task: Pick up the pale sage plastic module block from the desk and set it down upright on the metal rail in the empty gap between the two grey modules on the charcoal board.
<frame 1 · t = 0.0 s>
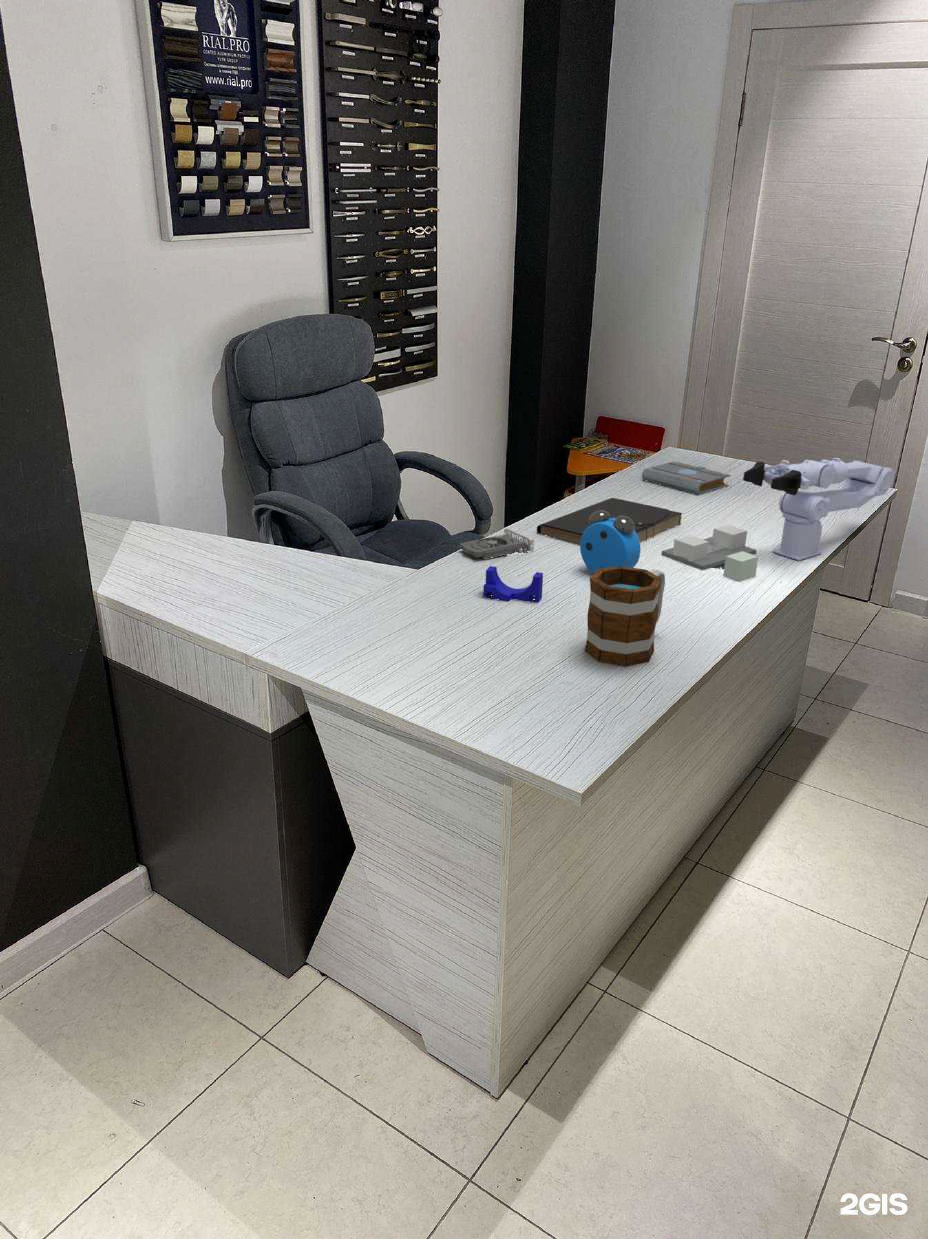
hand: (758, 480, 217), 22 cm above the table, tool horizontal, fingers open, 7 cm apart
mounted modules: (709, 554, 235), resting on rail board
blue cradle bracket: (512, 599, 208), on the table
module block: (739, 576, 222), on the table
mug: (628, 647, 186), on the table
alarm clock: (607, 576, 221), on the table
book: (684, 485, 295), on the table
rail board: (709, 554, 235), on the table
graphics card: (492, 552, 236), on the table
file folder: (610, 531, 253), on the table
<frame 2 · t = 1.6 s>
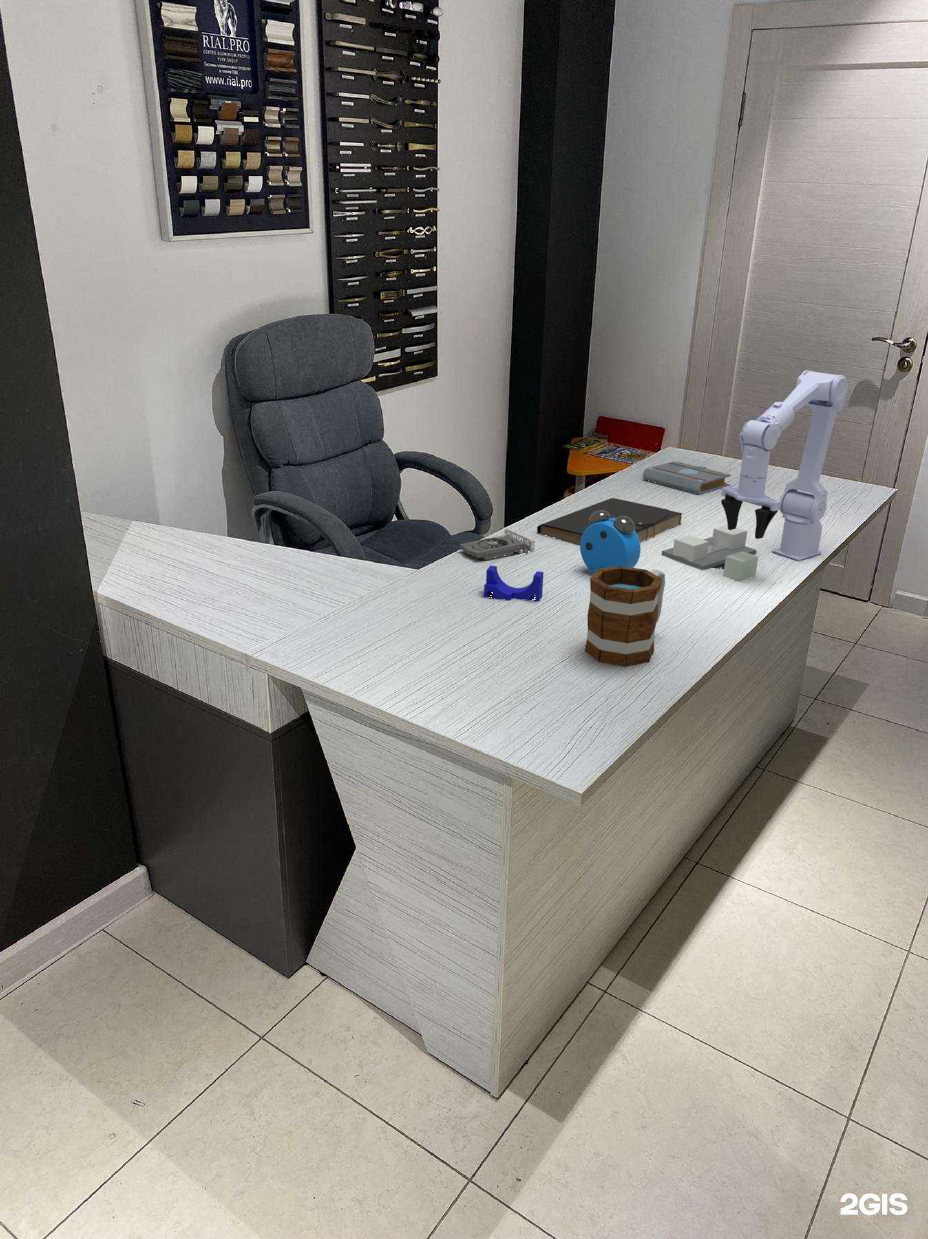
hand: (745, 533, 218), 10 cm above the table, tool pointing down, fingers open, 7 cm apart
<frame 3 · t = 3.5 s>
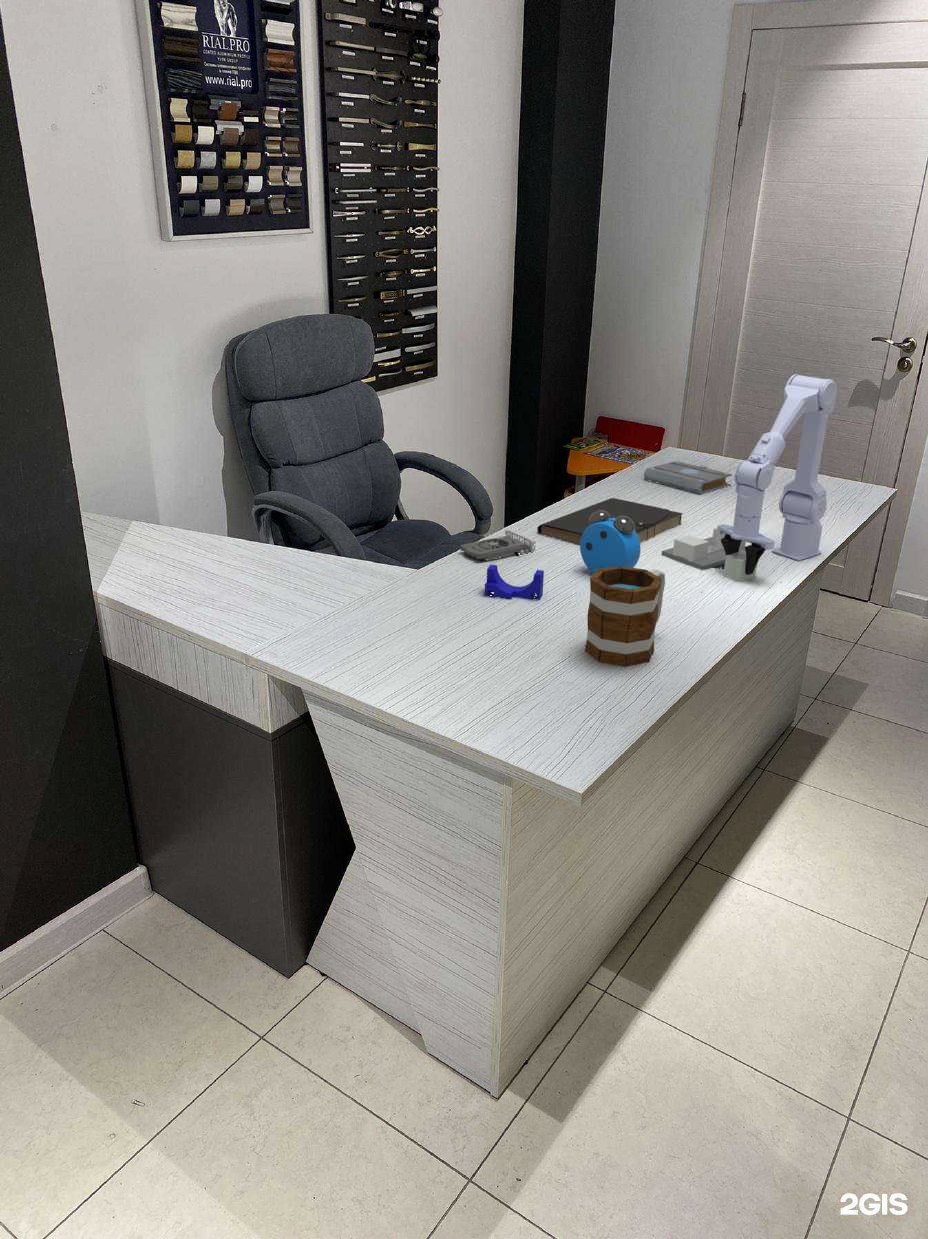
hand: (740, 570, 221), 1 cm above the table, tool pointing down, fingers closed on module block, 4 cm apart
module block: (739, 576, 222), on the table, touching gripper
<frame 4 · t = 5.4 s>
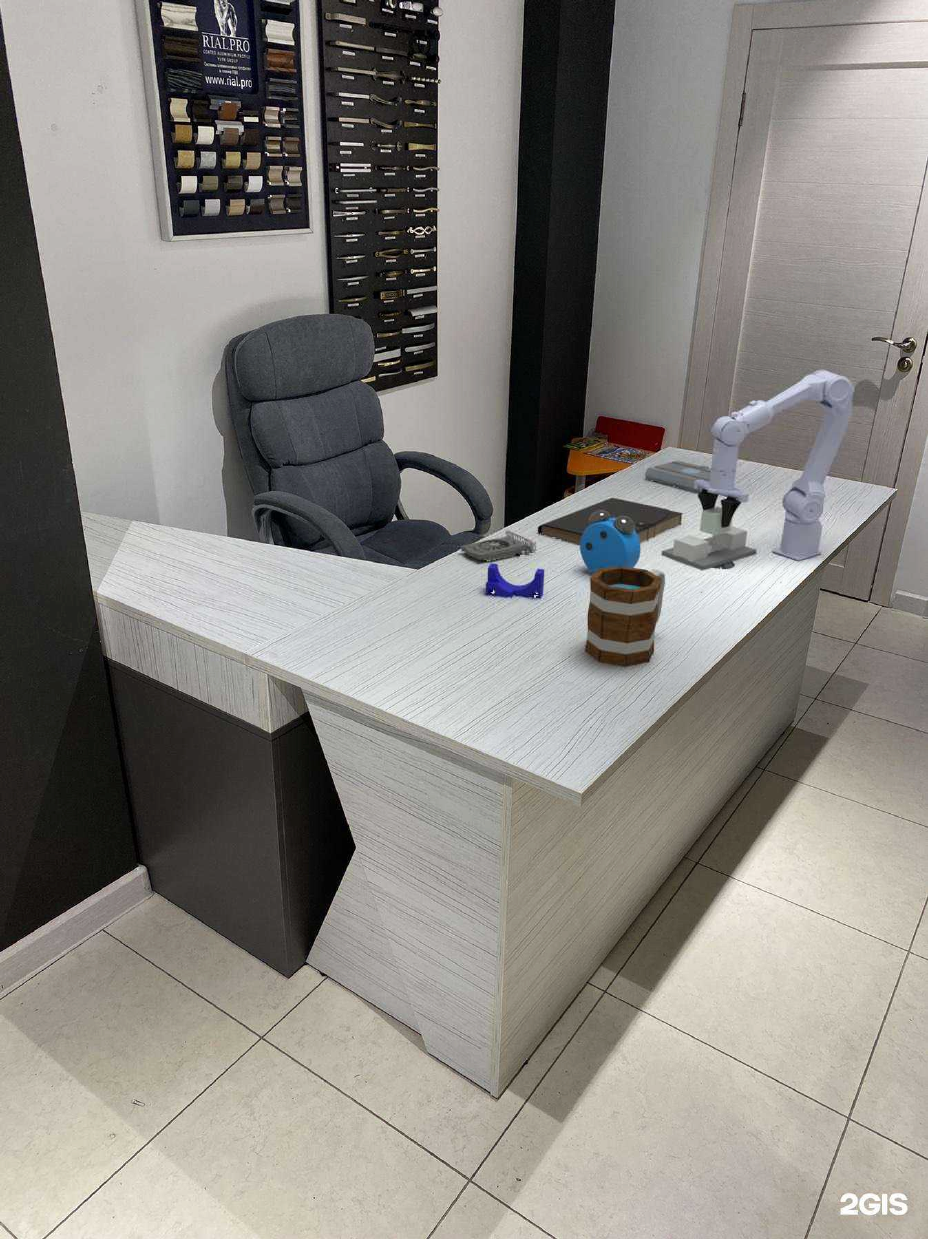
hand: (716, 524, 230), 8 cm above the table, tool pointing down, fingers closed on module block, 4 cm apart
module block: (715, 530, 231), point 7 cm above the table, touching gripper
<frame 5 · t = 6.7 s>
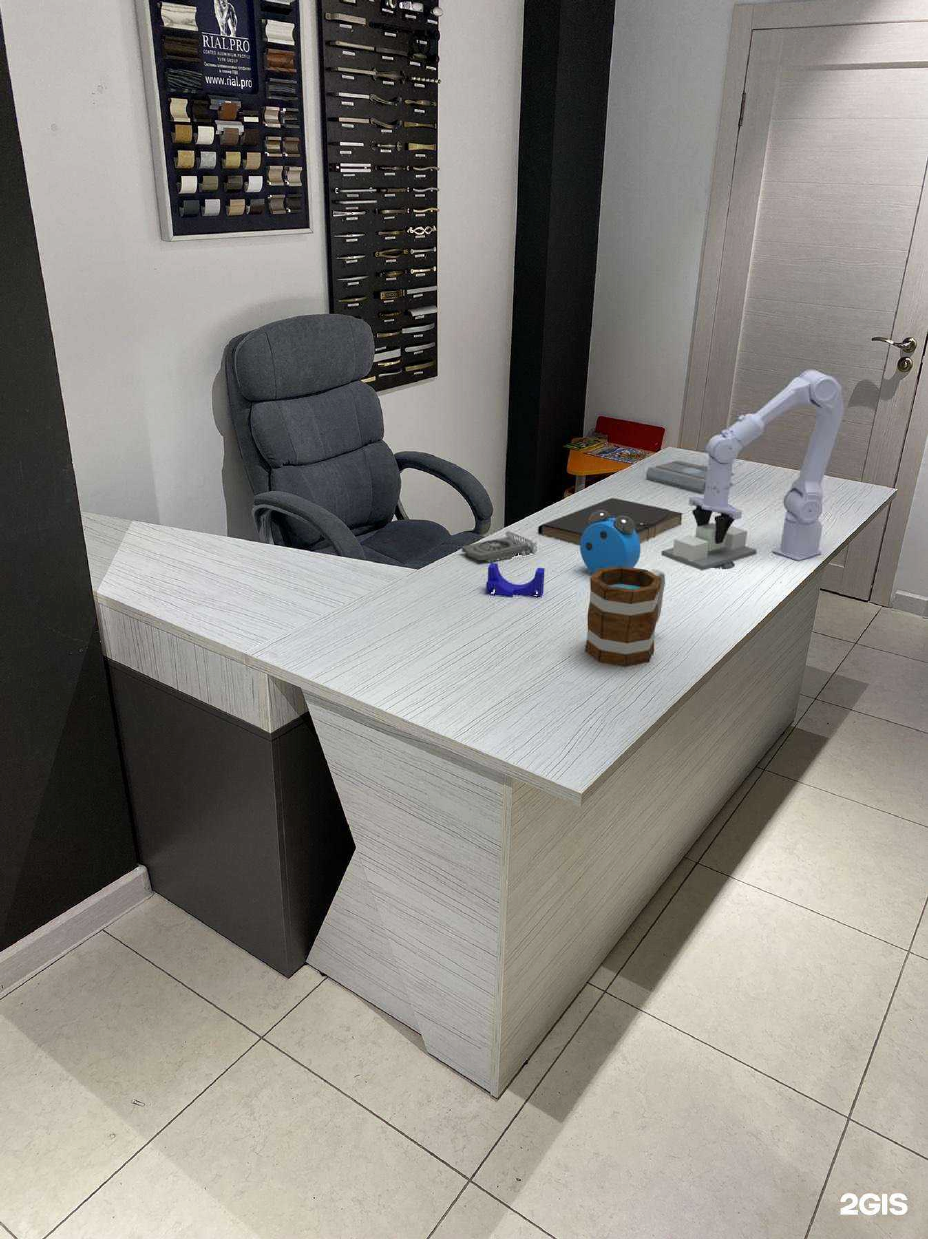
hand: (710, 539, 234), 4 cm above the table, tool pointing down, fingers closed on module block, 4 cm apart
module block: (709, 546, 234), point 2 cm above the table, touching gripper
when the fingers open (4 cm above the table, at t = 7.6 s): module block stays where it is, resting on rail board.
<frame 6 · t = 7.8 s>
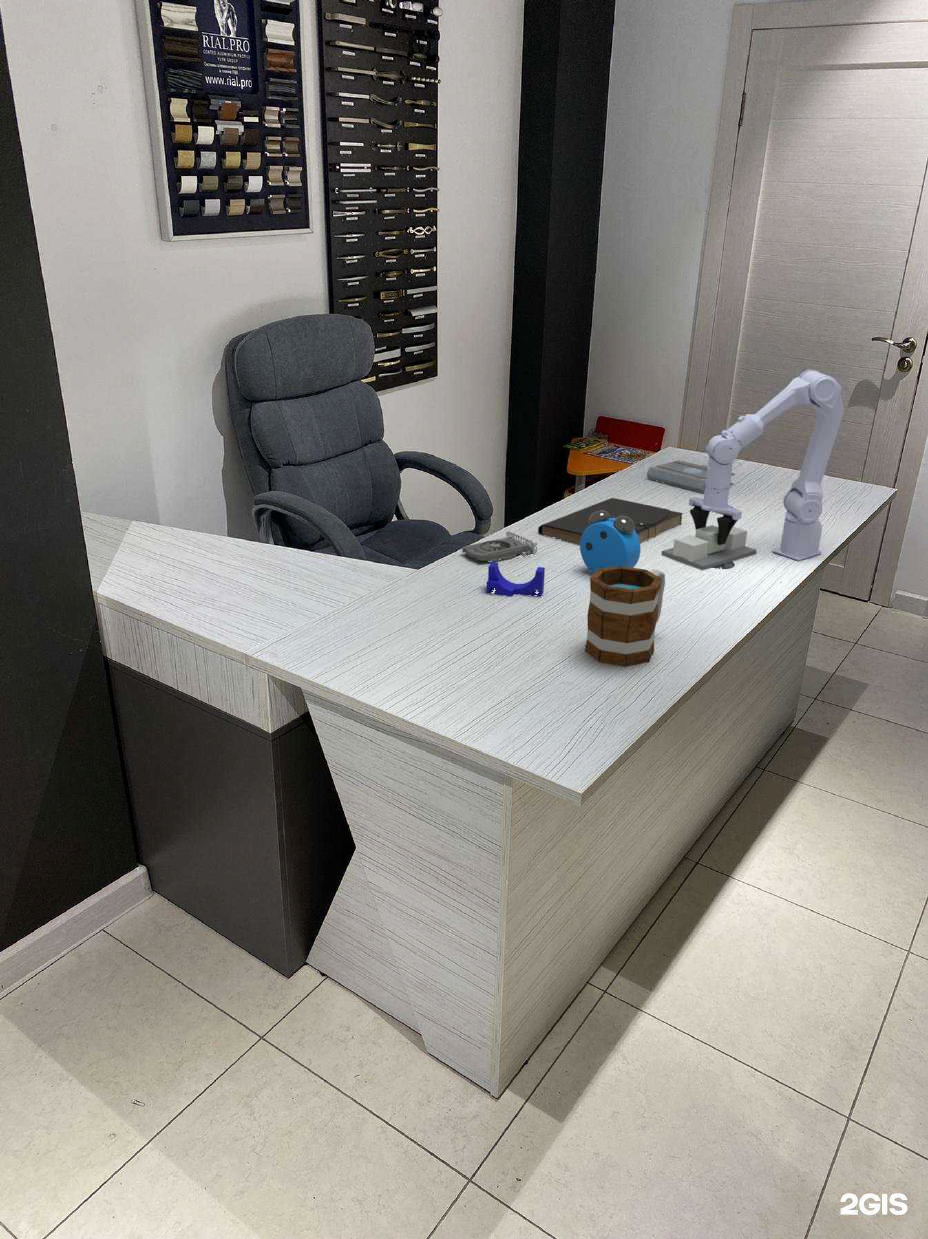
hand: (710, 540, 234), 4 cm above the table, tool pointing down, fingers open, 6 cm apart
module block: (709, 549, 235), point 1 cm above the table, touching rail board
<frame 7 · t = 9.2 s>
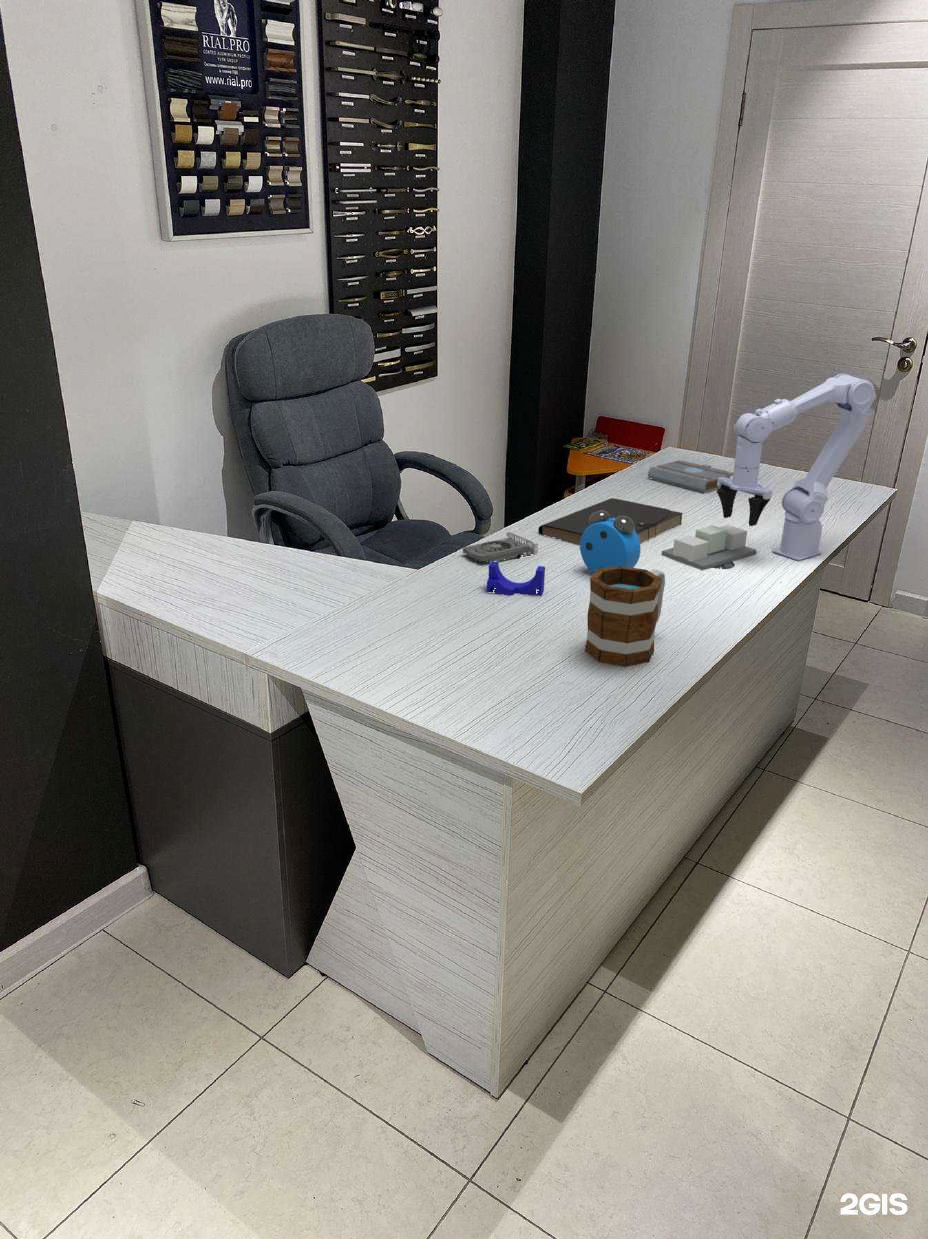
hand: (739, 521, 230), 9 cm above the table, tool pointing down, fingers open, 7 cm apart
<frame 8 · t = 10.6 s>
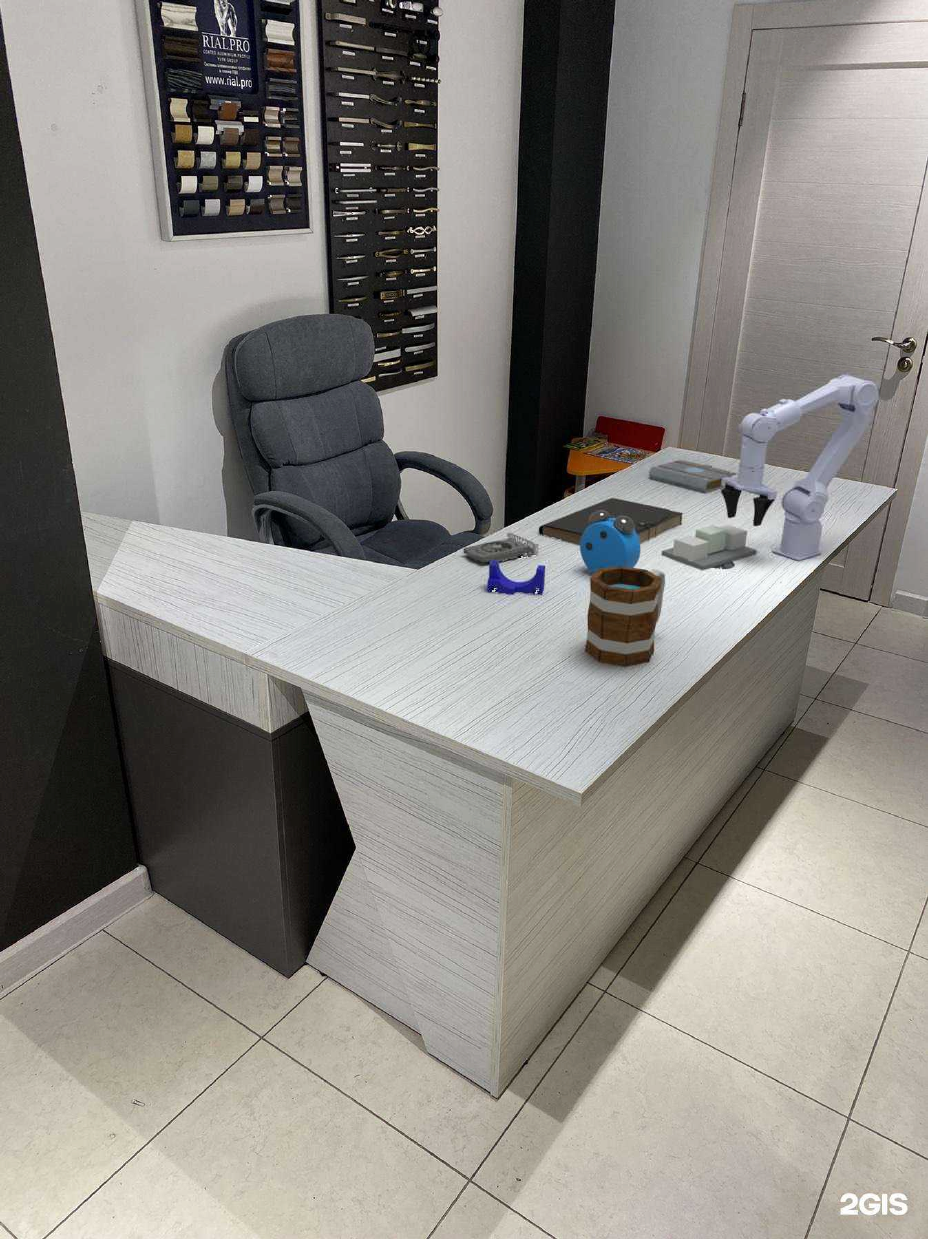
hand: (744, 521, 229), 9 cm above the table, tool pointing down, fingers open, 7 cm apart
at the end: module block 0.2 cm off-centre on the rail board, point 1.4 cm above the rail board's base; module block tilted 0°; the gripper is holding nothing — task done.
